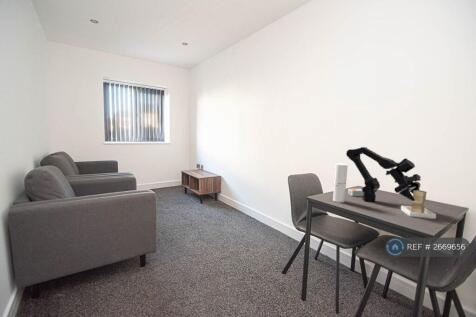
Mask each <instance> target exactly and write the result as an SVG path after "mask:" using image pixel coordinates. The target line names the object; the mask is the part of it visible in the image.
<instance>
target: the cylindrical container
mask: <svg viewBox="0 0 476 317" xmlns="http://www.w3.org/2000/svg"><path fill="white" fill-rule="evenodd" d="M348 167H349V166H348V164H347V163H342V162H341V163H338V162H337V163H335V168H334V181H333V182H334V184H333V195H332V201H334V202H335V201H336V202H335V203H340V202H343V203H345V202H346V199H345V198H346V188H347V176H348Z"/></svg>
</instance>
